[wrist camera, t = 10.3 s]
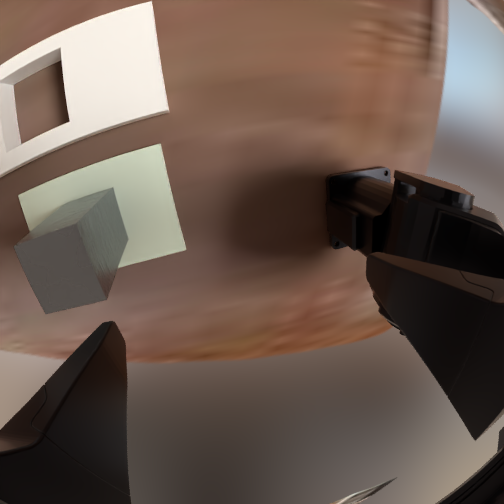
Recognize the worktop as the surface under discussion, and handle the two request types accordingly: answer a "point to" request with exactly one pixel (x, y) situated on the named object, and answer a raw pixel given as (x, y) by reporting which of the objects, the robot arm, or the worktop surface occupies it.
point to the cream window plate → (88, 81)
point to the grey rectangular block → (75, 252)
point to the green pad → (120, 201)
